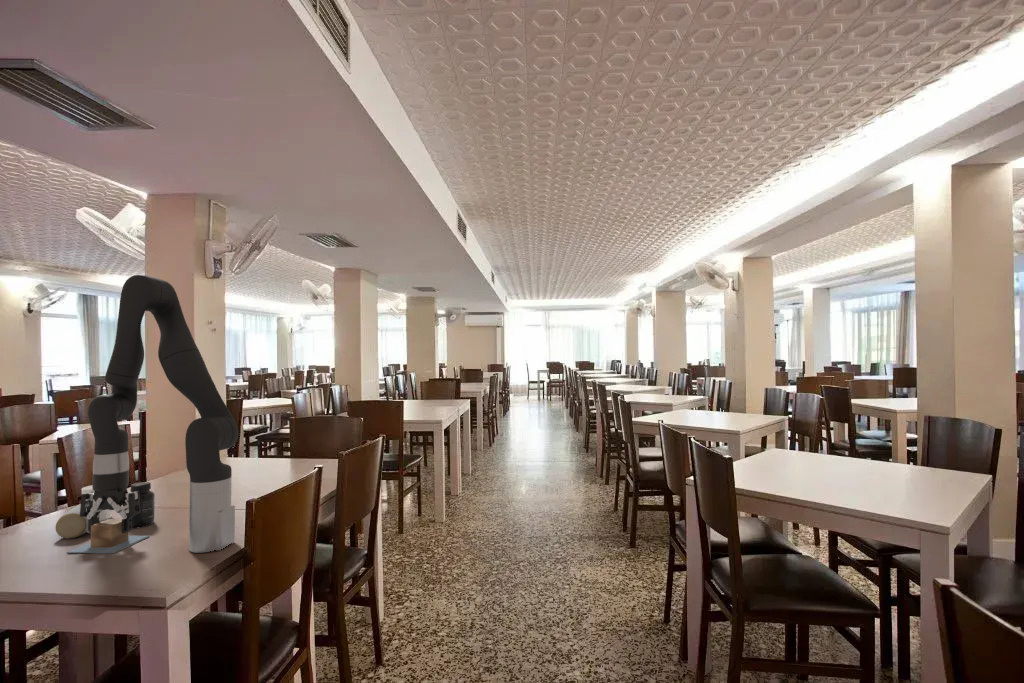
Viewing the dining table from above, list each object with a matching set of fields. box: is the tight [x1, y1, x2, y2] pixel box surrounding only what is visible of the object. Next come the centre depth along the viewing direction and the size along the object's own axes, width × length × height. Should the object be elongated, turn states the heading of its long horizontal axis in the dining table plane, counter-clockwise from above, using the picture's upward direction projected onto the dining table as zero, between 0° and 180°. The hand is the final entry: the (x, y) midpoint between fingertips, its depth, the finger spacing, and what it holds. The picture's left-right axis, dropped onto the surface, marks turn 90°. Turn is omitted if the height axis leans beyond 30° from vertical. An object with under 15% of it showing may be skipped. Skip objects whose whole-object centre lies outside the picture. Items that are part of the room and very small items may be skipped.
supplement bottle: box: [126, 481, 156, 529], centre depth 150 cm, size 7×7×12 cm
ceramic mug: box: [55, 504, 102, 539], centre depth 142 cm, size 11×8×8 cm
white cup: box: [81, 484, 113, 521], centre depth 157 cm, size 8×8×10 cm
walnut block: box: [90, 518, 130, 547], centre depth 133 cm, size 6×6×6 cm
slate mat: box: [66, 535, 150, 554], centre depth 133 cm, size 12×12×1 cm
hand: (110, 532), depth 133 cm, fingers open, 8 cm apart
